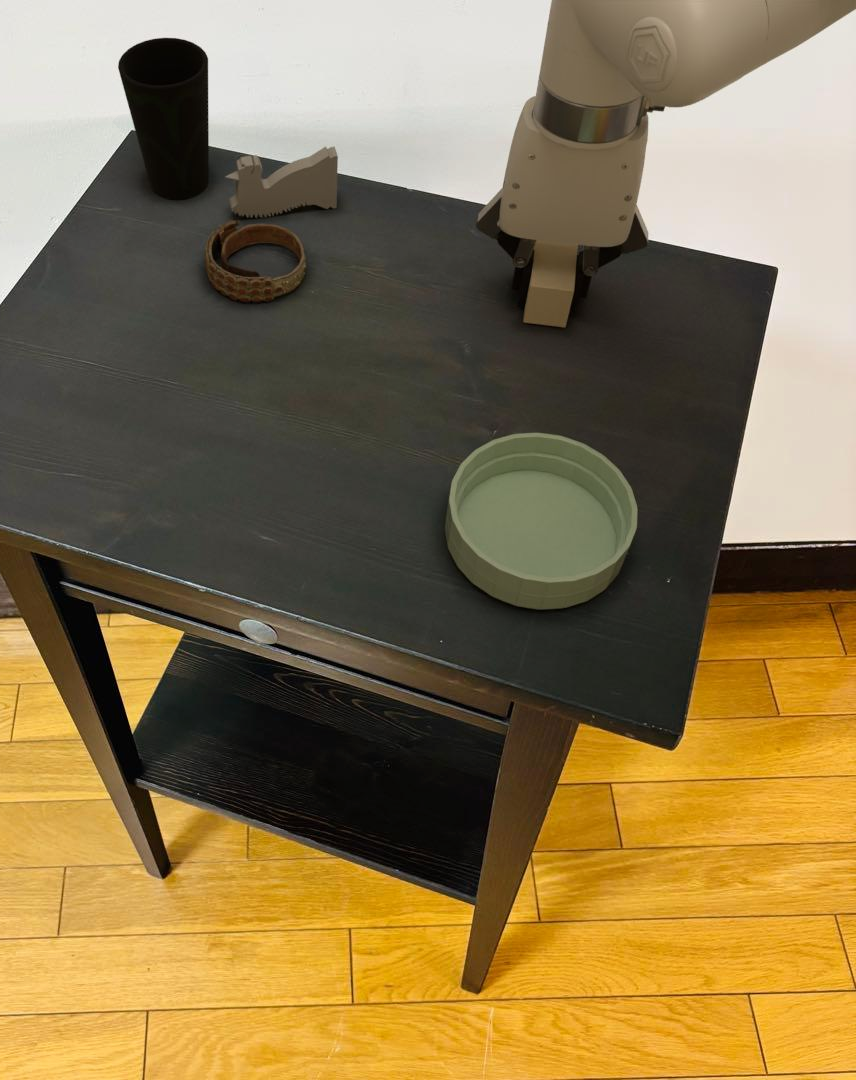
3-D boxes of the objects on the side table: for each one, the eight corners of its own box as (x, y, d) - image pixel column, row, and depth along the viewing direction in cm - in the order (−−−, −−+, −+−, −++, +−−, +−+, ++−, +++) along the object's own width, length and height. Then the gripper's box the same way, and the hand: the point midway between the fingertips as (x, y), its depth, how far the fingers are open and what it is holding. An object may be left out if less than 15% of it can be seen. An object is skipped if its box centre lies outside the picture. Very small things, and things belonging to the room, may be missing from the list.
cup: (236, 173, 101) (225, 53, 91) (188, 217, 97) (172, 97, 87) (171, 147, 103) (154, 28, 94) (122, 189, 100) (99, 69, 90)
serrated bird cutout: (336, 209, 98) (228, 221, 97) (333, 199, 99) (226, 212, 98) (337, 154, 93) (224, 167, 92) (334, 145, 94) (222, 158, 93)
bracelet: (190, 259, 94) (186, 232, 92) (276, 227, 96) (275, 200, 94) (235, 319, 90) (232, 292, 87) (324, 283, 92) (324, 256, 90)
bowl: (626, 480, 79) (639, 446, 76) (621, 627, 72) (635, 595, 69) (455, 456, 81) (461, 421, 78) (433, 597, 74) (438, 565, 70)
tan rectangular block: (529, 271, 92) (536, 234, 89) (569, 276, 92) (578, 238, 89) (523, 322, 89) (530, 285, 85) (565, 327, 88) (574, 290, 85)
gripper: (708, 82, 76) (647, 280, 91) (477, 60, 78) (455, 258, 93) (709, 144, 72) (645, 341, 87) (466, 120, 74) (444, 316, 89)
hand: (547, 296), depth 90 cm, fingers closed on tan rectangular block, 3 cm apart
